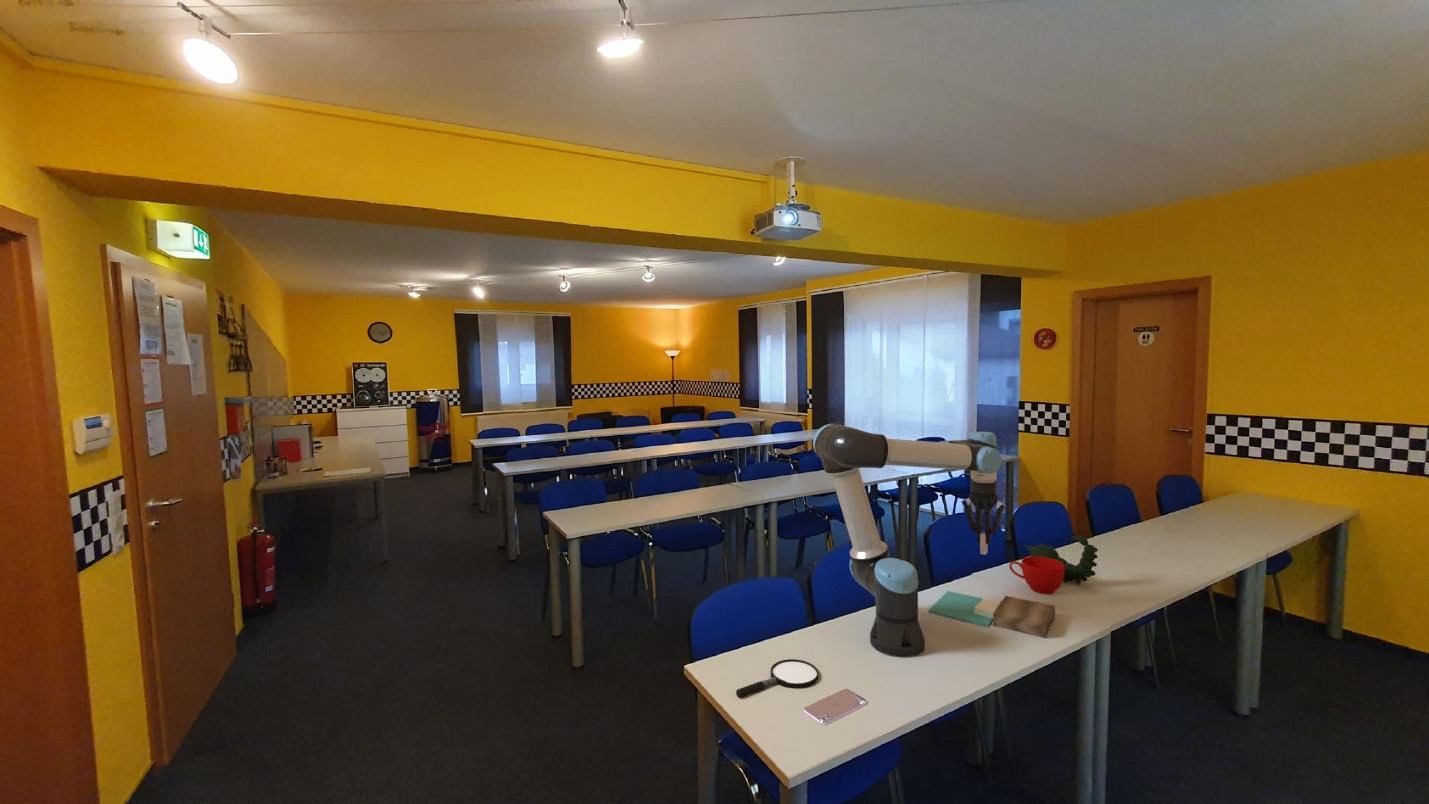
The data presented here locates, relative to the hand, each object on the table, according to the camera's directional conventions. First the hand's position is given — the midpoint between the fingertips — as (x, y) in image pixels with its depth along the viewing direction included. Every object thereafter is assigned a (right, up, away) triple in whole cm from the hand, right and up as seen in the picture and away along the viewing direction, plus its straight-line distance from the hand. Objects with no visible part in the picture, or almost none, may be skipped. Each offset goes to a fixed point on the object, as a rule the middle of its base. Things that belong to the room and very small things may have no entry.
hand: (983, 553), depth 183 cm
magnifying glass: (-70, -25, -36) cm, 83 cm away
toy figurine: (+40, -17, +27) cm, 51 cm away
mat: (-4, -19, +4) cm, 20 cm away
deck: (+9, -19, -7) cm, 23 cm away
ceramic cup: (+27, -18, +17) cm, 36 cm away
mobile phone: (-58, -25, -47) cm, 79 cm away
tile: (+1, -19, 0) cm, 19 cm away
